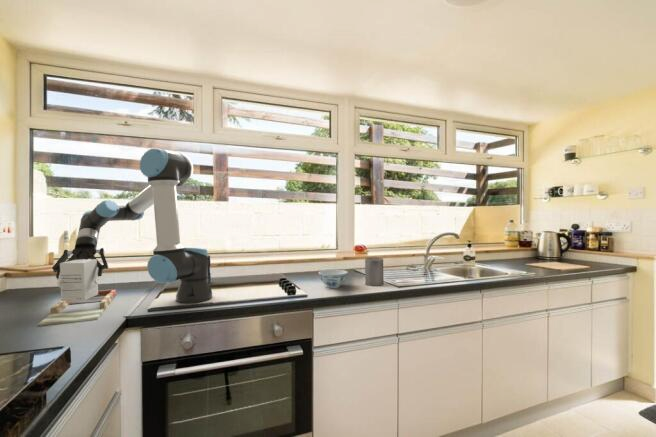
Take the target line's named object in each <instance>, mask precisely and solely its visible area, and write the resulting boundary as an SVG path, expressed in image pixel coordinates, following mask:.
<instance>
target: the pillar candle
mask: <svg viewBox="0 0 656 437" xmlns="http://www.w3.org/2000/svg"><path fill="white" fill-rule="evenodd" d="M364 264H365V265H364V267H365V268H364V271H365V273H364V274H365V279H364V281H365V284H364V285H366V286H368V287H369V286H370V287H378V286H379V287H381V286H383V285H384V282H385V281H384V280H385V279H384V258H382V257H375V256H372V257H366V258H365V259H364Z"/></svg>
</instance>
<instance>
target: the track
mask: <svg viewBox="0 0 656 437" xmlns="http://www.w3.org/2000/svg"><path fill="white" fill-rule="evenodd" d="M115 295H116V296H117V288H115V289H114V288H113V289H103V290H98V295H96V296H94V297H91V298H89V299H86V300H81V301H61V300H60V301H58V302H56V304H54V305H53V306H52V307H50V314H49V315H48V316H46V317H45V318H44V319H42V320H41V321H40V322H39V323H38V327H44V326H51V325H59V324H60V325H61V324H69V323H77V322H85V321H94V320H95V321H96V320H98V319H100V318H101V316H102V314H103V313H104V312H105V310H106V309H107V308H108V306H109V305H110V304H111V302H112V301H113V299H115ZM91 303H99V308H95V309H94V308H93V309H87V310H85V309H84V310H78V311H77V310H75V311H68V312H67V311H66V312H62V311H64V310H65V309H66V307H68V306H70V305H71V306H72V305H81V304H91Z"/></svg>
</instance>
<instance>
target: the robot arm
mask: <svg viewBox="0 0 656 437" xmlns="http://www.w3.org/2000/svg"><path fill="white" fill-rule="evenodd" d="M139 170H140V172H141V173H142V175H144V177H146V178H147V184H149V185H148V186H147V187H146V188H144V189H143V190H142V191H140V193H138V194H137V195H135V196H134V197H133V198H132V199H131V200H129V201H128V202H127V203H125V204H118V203H117V202H116V201H114V200H111V199H103V201H101V202H100V203H98V204H97V205H96V206H95V207H94V209H92V210H90V211H89V210H88V211H85V212H84V213H83V214H82V217H81V218H80V224H79V228H78V231H77V236H76V239H75V244H74V247H73V249H72V250H68V249H63V253H62V255H61V256H60V257H59V258H58V260H57V261H55V263H54V265H52V268H51V269H52V271H53V272H54V273H56V275H55V277H56V280H57V282H56V284H57V287H58V288H61V282H60V263H63V262H68V261H72V260H79V259H81V260H88V259H97V257H95V255H96V254H98V255H99V256H100V259H101V261H102V263H101V262H100V261H99V260H98V259H97V267H96V271H95V277H94V283H95V284H97V283H98V284H99V282H98V281H99V277H102V276H103V270H106V269H107V270H108V269H109V265H108V261H107V258H106V256H105V250H104V248H103V247H101V248H100V249H97V247H98V240H99V235H100V231H101V228H102V227H103V226H104V225H105V224H107V223H108V222H115V221H116V222H117V221H118V222H119V221H139V220H141V219H142V218H143V217H144V215H145V211H147V209H149V208H151V207H152V206H153V208H154V210H153V211H154V221H155V222H154V224H155V234H156V247H155V248H154V249H153V250H152V252H153V255H152V256H151V257H150V258H148V259H149V260H148V261H147V272H148V274H149V276H150V277H151V279H153V280H154V281H155V282H156V283H159V284H167V283H172V282H175V281H179V285H178V288H177V292H176V295H175V301H176V302H178V303H183V304H184V303H185V304H187V303H188V304H190V303H199V302H204V301H207V300H210V299H212V298H213V290H212V288H211V285H210V284H209V282H208V255H209V253H208V249H207V248H205V247H204V248H203V247H185V246H184V245H182V243H181V238H180V225H179V224H180V223H179V211H178V198H177V187H181V186H183V185H184V184H186V183H187V182H188V181H189V180H190V178H192V175H193V173H194V165H193V162H192V160H191V159H190V158H189V157H188V156H187V155H186V154H183V153H180V152H176V151H171V150H167V149H163V148H150V149H147V150H146V151H145V152H144V153H143V155H142V156H141V157H140V160H139Z"/></svg>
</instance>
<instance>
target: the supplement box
mask: <svg viewBox="0 0 656 437" xmlns="http://www.w3.org/2000/svg"><path fill="white" fill-rule="evenodd" d="M97 260H98V259H97V258H96V259H87V260H86V259H83V260H81V259H79V260H72V261H68V262H66V261H65V262H63V263H60V282H61V287H60V301H81V300H86V299H89V298H91V297H94V296H96V295H98V291H99V282H98V283H97V284H95V283H94V277H95V271H96V267H97Z"/></svg>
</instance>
